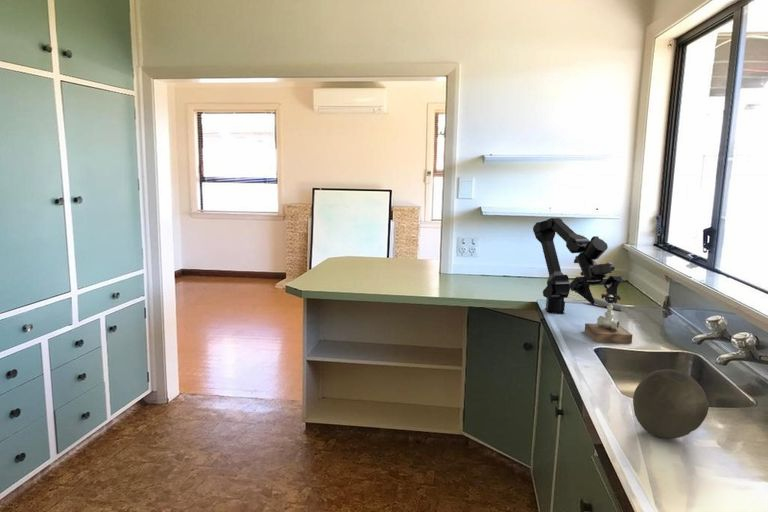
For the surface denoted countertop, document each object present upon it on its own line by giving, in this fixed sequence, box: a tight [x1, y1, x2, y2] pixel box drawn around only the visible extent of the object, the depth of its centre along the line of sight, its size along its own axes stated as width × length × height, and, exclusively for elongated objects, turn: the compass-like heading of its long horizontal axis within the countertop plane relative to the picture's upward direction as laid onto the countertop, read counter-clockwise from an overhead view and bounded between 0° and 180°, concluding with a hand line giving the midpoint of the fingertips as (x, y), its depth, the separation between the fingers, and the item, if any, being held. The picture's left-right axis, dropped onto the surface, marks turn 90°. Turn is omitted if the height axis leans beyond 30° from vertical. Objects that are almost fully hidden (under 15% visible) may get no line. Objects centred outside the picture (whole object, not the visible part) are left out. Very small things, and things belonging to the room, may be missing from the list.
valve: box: [596, 292, 622, 330], centre depth 187 cm, size 7×7×12 cm
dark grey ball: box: [632, 368, 710, 440], centre depth 117 cm, size 14×14×15 cm
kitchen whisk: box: [567, 293, 627, 312], centre depth 234 cm, size 6×34×6 cm, turn 41°
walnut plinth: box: [584, 323, 633, 344], centre depth 188 cm, size 12×12×3 cm
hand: (605, 303), depth 189 cm, fingers open, 9 cm apart
